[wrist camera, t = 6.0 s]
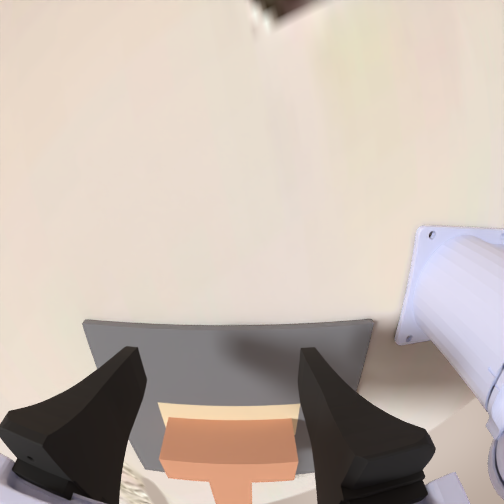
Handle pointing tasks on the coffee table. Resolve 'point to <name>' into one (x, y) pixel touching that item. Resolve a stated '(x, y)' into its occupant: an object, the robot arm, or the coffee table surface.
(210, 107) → the coffee table surface
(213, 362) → the charcoal mat
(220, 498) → the rust T block
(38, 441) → the robot arm
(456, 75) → the coffee table surface
